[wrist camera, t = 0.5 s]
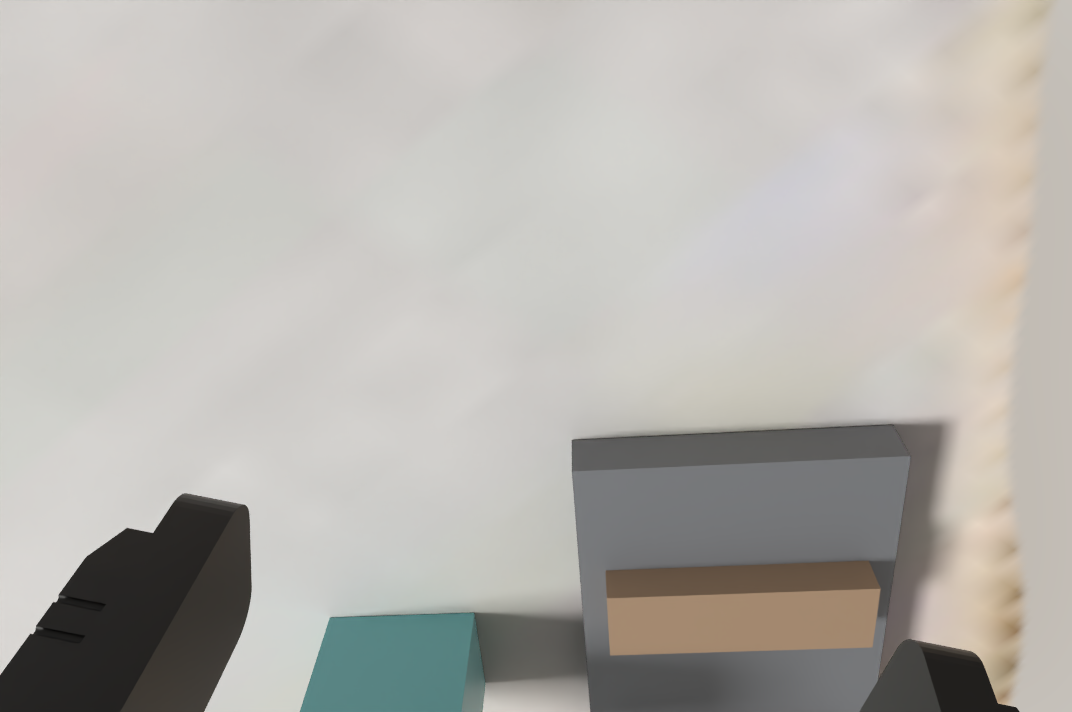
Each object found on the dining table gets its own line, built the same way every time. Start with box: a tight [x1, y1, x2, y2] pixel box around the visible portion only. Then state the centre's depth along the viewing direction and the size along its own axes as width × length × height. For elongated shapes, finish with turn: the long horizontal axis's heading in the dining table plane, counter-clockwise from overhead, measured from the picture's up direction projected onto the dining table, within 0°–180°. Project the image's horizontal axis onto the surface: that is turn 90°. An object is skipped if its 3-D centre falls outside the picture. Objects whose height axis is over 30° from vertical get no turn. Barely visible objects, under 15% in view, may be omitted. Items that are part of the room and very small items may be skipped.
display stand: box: [572, 425, 911, 712], centre depth 37 cm, size 22×12×4 cm, turn 5°
